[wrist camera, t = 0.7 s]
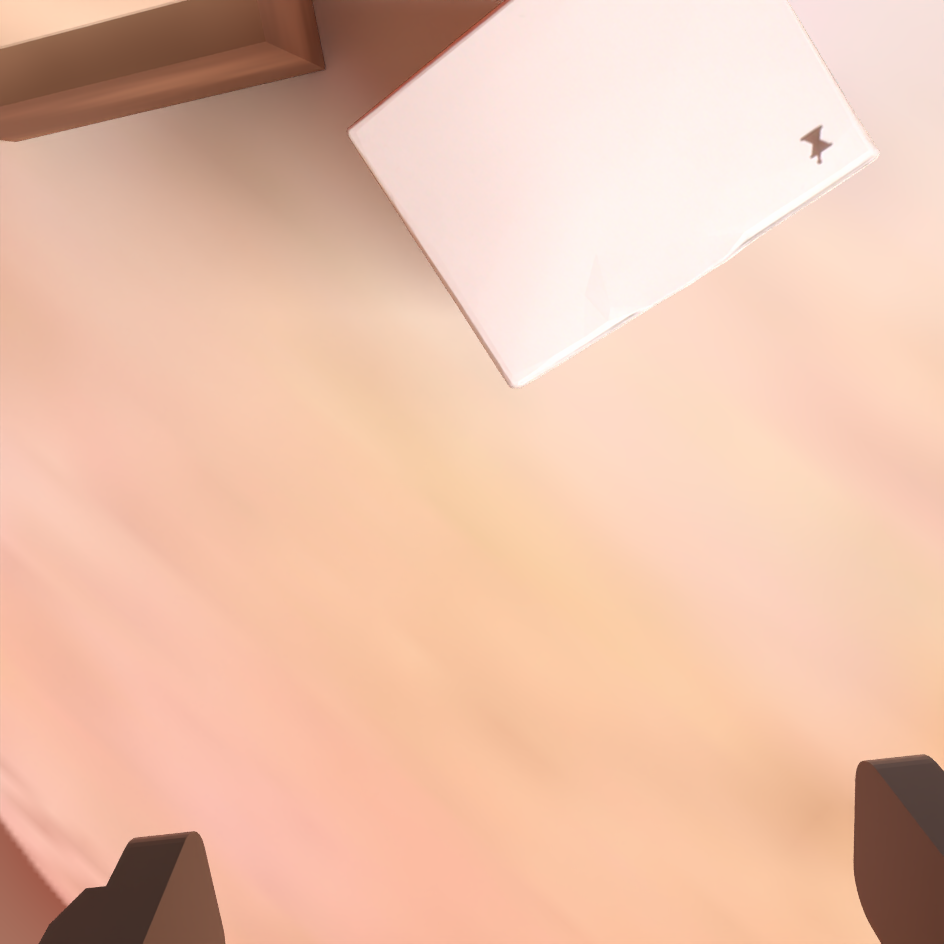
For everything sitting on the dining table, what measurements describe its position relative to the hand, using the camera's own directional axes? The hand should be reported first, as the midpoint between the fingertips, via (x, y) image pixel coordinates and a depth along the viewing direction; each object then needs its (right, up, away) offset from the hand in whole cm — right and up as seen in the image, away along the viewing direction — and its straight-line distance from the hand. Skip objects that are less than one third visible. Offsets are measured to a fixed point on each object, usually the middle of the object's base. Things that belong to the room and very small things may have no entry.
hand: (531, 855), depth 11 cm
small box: (+4, +14, +18) cm, 23 cm away
